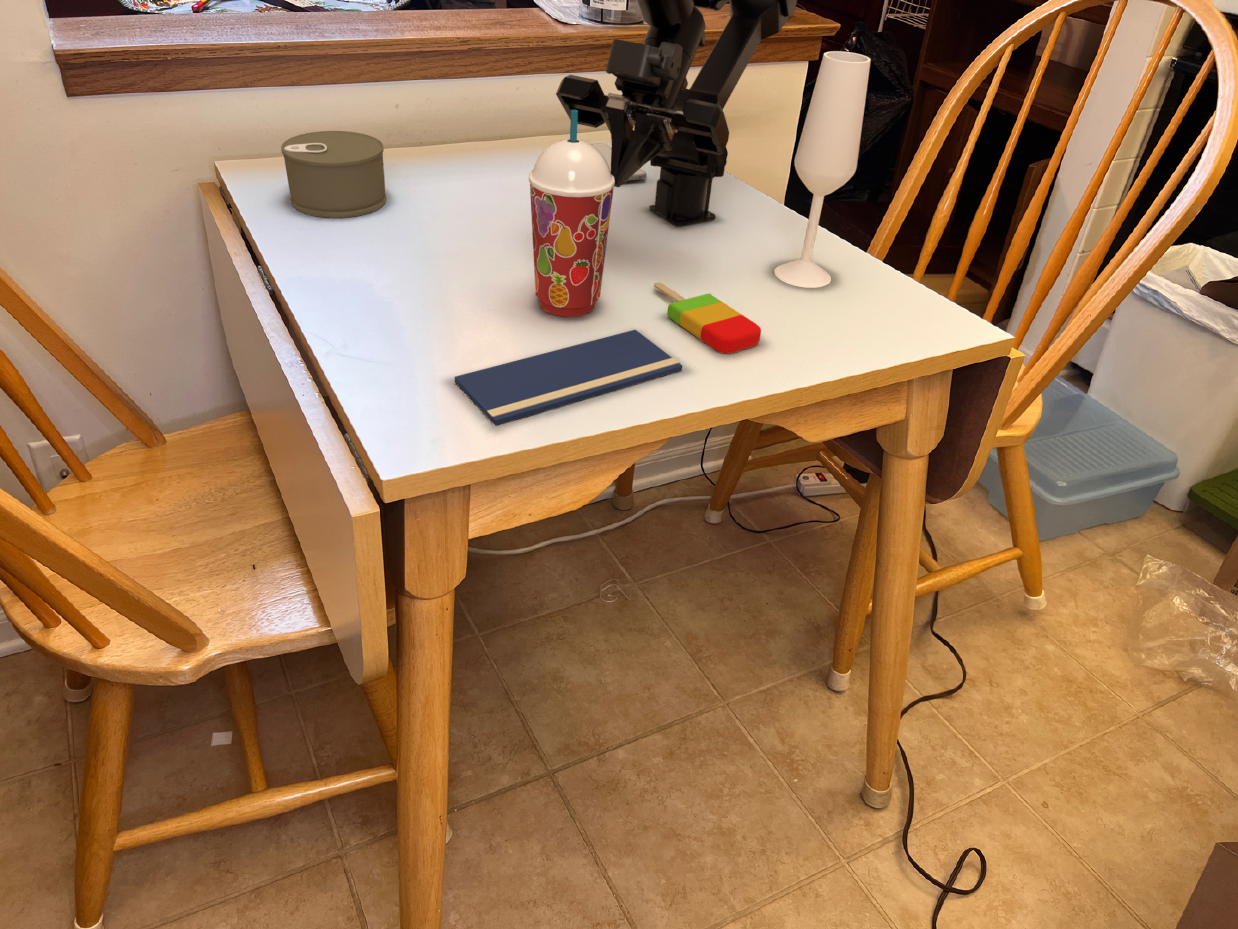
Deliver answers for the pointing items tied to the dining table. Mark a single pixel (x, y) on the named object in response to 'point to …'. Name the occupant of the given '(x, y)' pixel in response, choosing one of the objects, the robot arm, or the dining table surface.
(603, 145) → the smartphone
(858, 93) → the champagne flute
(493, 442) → the dining table surface
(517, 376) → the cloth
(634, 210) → the dining table surface
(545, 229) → the smoothie
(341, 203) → the can
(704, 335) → the popsicle
